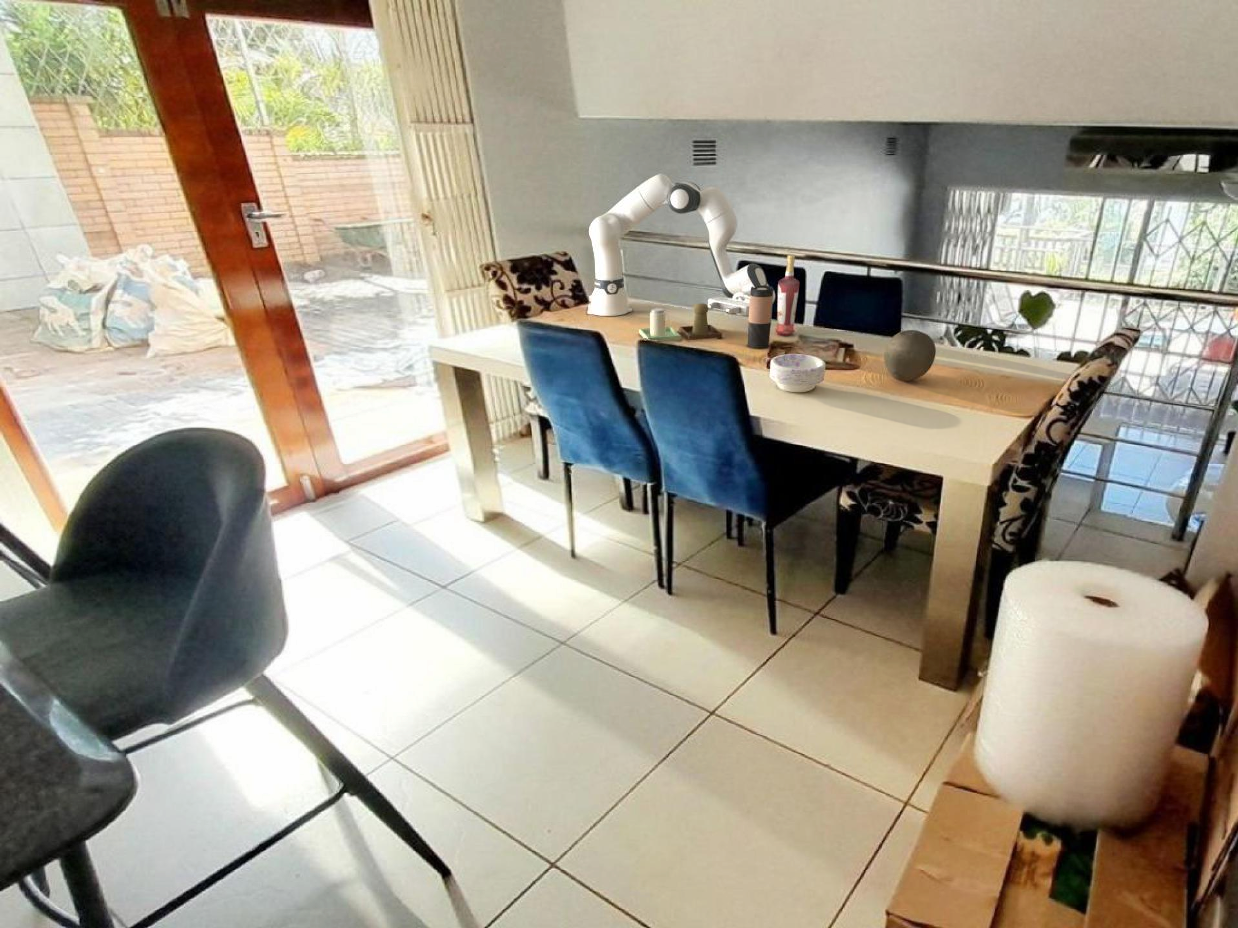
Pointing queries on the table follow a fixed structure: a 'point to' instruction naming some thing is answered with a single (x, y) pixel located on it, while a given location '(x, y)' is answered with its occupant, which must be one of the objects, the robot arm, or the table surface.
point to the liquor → (787, 300)
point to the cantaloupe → (909, 355)
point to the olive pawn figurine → (700, 319)
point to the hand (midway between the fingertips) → (718, 309)
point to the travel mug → (760, 316)
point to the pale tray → (669, 335)
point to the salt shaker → (657, 322)
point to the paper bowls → (797, 372)
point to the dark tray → (711, 334)
